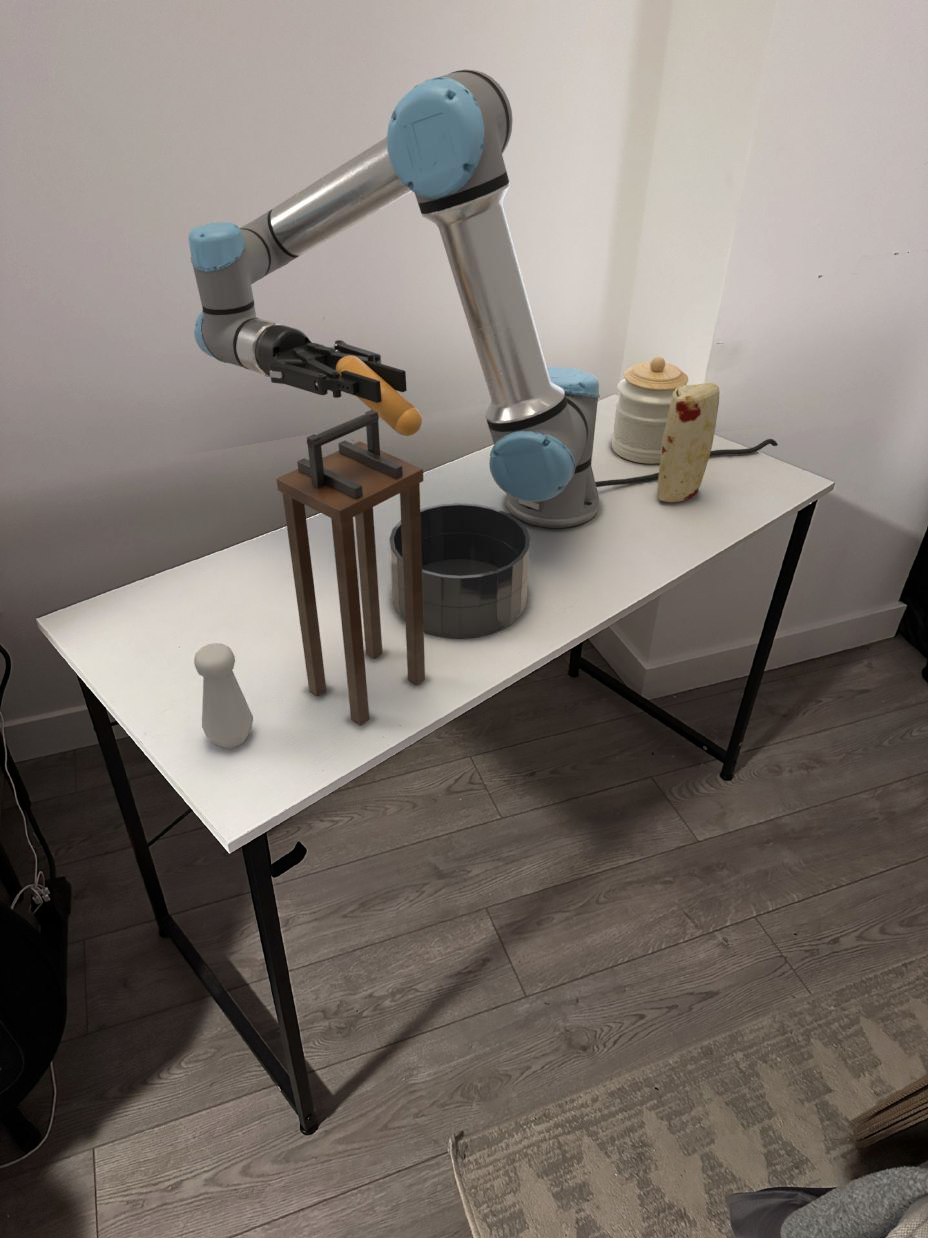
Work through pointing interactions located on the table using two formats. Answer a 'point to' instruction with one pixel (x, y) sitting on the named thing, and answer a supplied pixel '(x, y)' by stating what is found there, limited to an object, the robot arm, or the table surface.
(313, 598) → the shelf stand
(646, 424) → the jar
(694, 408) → the food model
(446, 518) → the pot
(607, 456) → the table surface
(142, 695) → the table surface
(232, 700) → the salt shaker
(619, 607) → the table surface
